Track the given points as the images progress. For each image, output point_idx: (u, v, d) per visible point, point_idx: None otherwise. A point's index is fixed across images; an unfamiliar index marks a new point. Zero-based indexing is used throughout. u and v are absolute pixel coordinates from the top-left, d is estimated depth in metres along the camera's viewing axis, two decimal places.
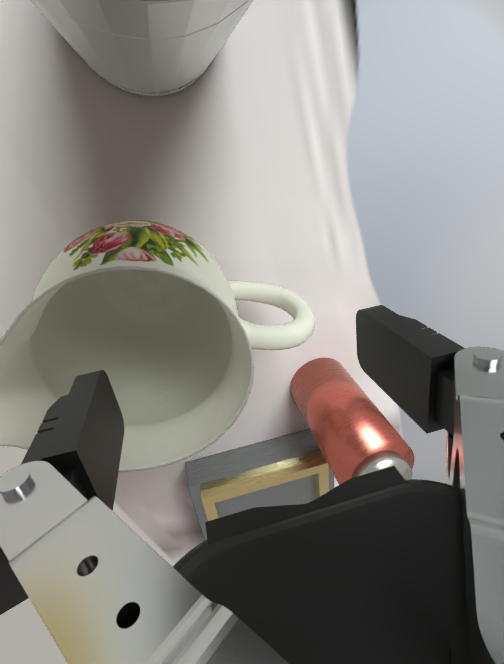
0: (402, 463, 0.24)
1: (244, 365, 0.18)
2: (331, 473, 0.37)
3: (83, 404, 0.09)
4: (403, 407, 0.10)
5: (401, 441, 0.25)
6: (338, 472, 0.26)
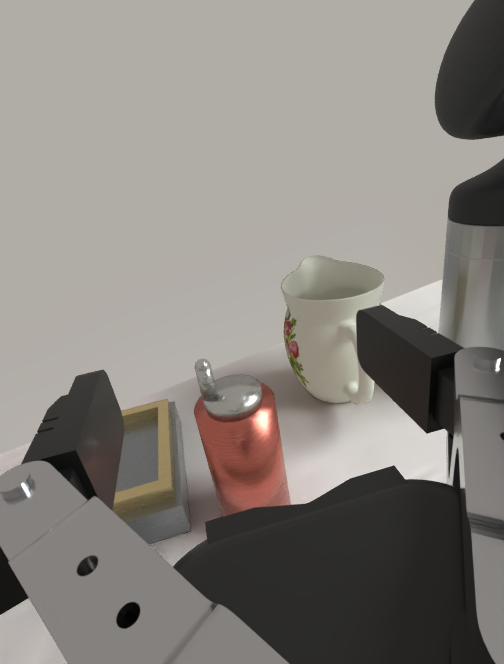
0: (257, 394, 0.24)
1: None
2: (134, 517, 0.28)
3: (83, 404, 0.09)
4: (403, 407, 0.10)
5: (271, 411, 0.24)
6: None
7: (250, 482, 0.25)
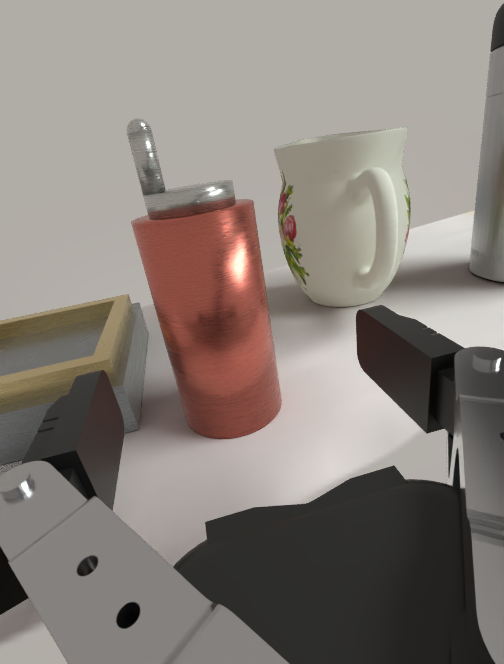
0: (224, 182, 0.16)
1: None
2: (53, 399, 0.19)
3: (83, 404, 0.09)
4: (403, 407, 0.10)
5: (247, 208, 0.16)
6: None
7: (214, 326, 0.16)
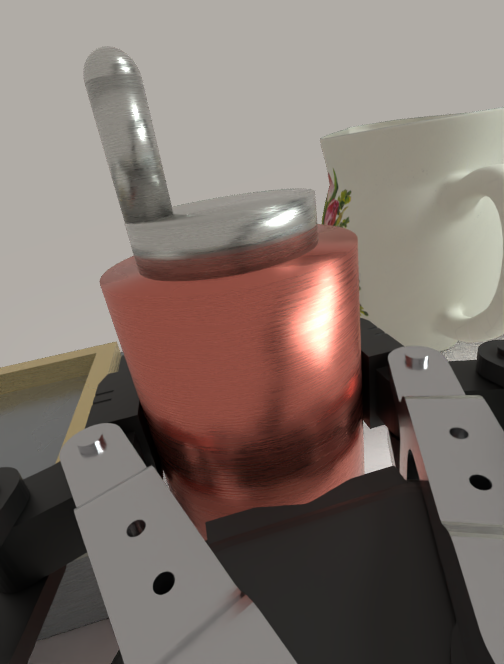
0: (305, 195, 0.07)
1: None
2: None
3: None
4: None
5: (354, 255, 0.07)
6: None
7: (277, 498, 0.08)
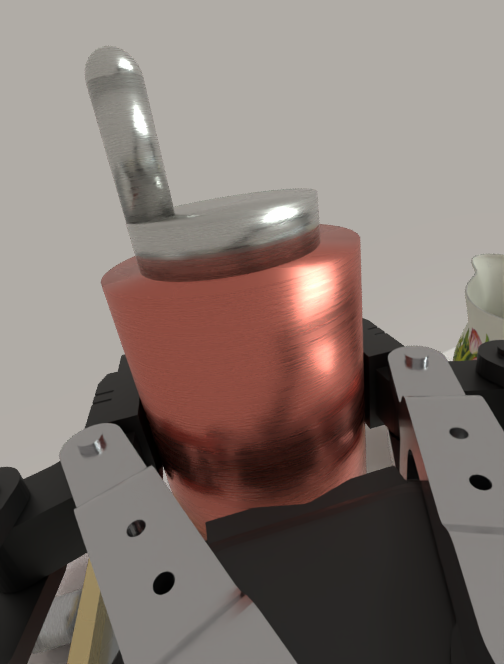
0: (307, 195, 0.07)
1: None
2: None
3: None
4: None
5: (358, 255, 0.07)
6: None
7: (279, 500, 0.08)
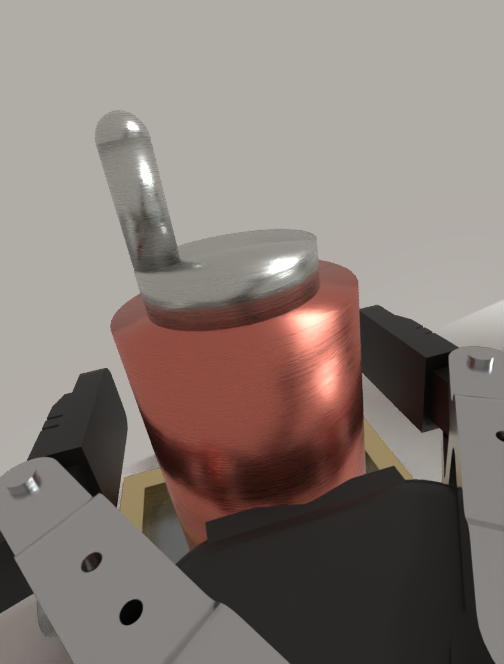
0: (307, 245, 0.07)
1: None
2: None
3: (87, 402, 0.09)
4: (399, 406, 0.10)
5: (355, 301, 0.07)
6: None
7: None
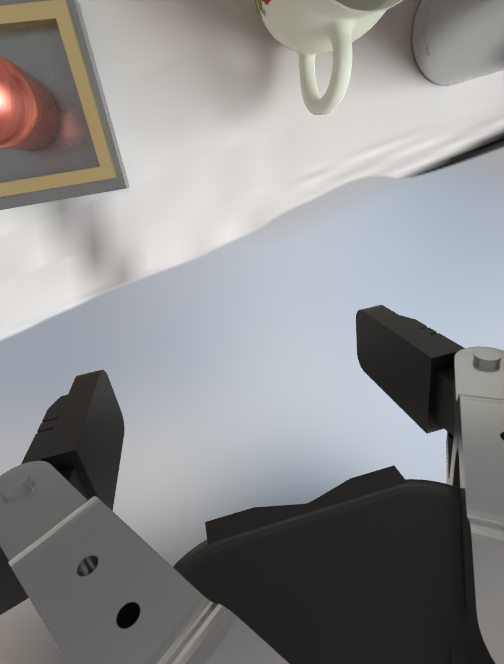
0: None
1: None
2: (84, 192, 0.33)
3: (83, 404, 0.09)
4: (403, 407, 0.10)
5: (8, 121, 0.21)
6: None
7: None
